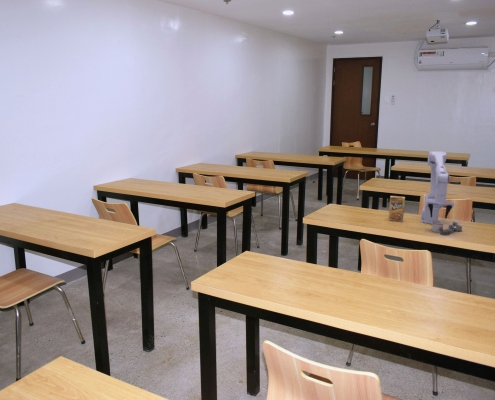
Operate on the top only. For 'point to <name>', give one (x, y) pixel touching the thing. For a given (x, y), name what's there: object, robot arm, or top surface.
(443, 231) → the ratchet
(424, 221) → the robot arm
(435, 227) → the red-striped grey block
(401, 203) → the candy box
